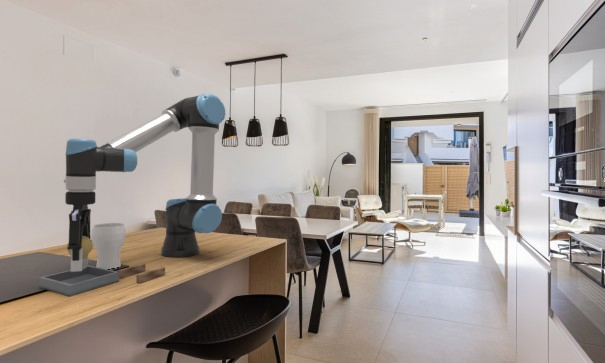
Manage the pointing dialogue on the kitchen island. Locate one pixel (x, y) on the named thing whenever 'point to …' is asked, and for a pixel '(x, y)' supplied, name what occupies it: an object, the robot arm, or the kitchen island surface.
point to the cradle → (142, 276)
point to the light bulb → (84, 250)
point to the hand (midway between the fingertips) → (79, 267)
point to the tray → (78, 280)
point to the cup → (108, 244)
